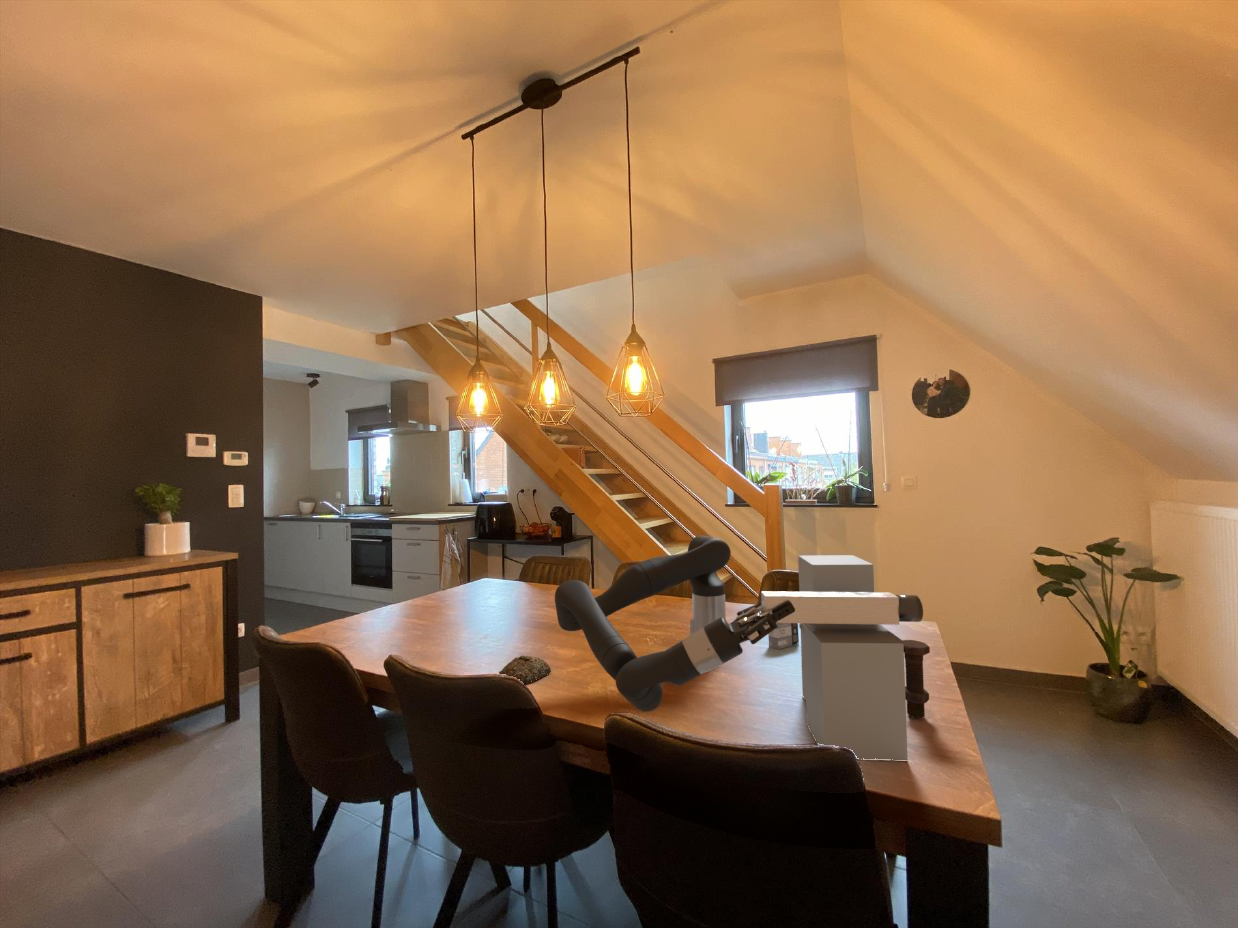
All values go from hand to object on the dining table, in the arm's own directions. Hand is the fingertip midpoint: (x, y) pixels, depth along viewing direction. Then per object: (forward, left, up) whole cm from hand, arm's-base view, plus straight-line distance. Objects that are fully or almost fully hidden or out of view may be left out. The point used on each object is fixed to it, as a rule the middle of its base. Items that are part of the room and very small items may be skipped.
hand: (789, 602), depth 98 cm
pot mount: (+6, +12, -26) cm, 29 cm away
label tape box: (-19, +52, -27) cm, 62 cm away
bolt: (+18, +23, -26) cm, 40 cm away
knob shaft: (+8, +4, -3) cm, 10 cm away
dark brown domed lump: (-68, -5, -27) cm, 74 cm away
